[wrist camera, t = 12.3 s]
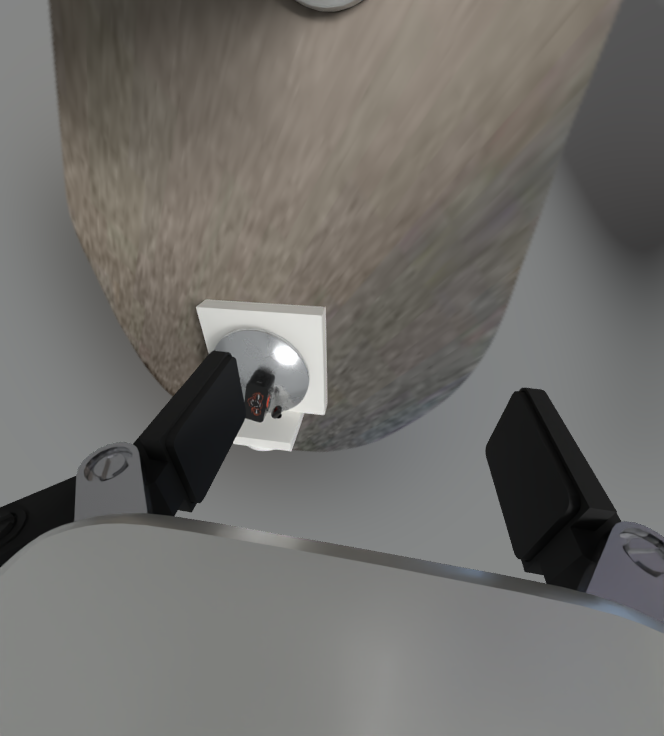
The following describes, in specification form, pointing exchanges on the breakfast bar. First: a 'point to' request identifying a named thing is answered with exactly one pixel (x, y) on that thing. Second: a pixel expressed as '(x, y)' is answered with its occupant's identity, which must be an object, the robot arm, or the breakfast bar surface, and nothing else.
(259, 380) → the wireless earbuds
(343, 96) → the breakfast bar surface
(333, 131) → the breakfast bar surface
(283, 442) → the kitchen scale
